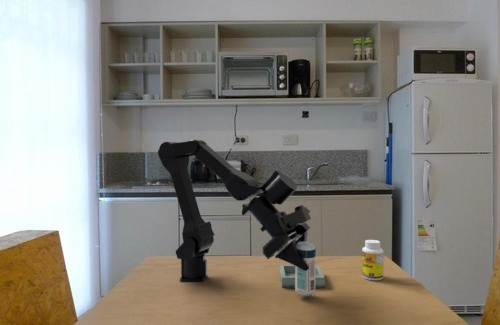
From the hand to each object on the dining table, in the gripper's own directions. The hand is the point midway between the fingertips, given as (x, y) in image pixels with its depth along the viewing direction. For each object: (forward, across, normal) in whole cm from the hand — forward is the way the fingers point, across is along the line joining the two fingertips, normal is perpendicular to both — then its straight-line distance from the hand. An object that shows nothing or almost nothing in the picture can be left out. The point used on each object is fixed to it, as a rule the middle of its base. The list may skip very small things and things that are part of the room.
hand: (311, 266), depth 88 cm
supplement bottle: (+13, +21, -2) cm, 25 cm away
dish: (+1, +11, +10) cm, 15 cm away
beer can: (+4, 0, +6) cm, 7 cm away
